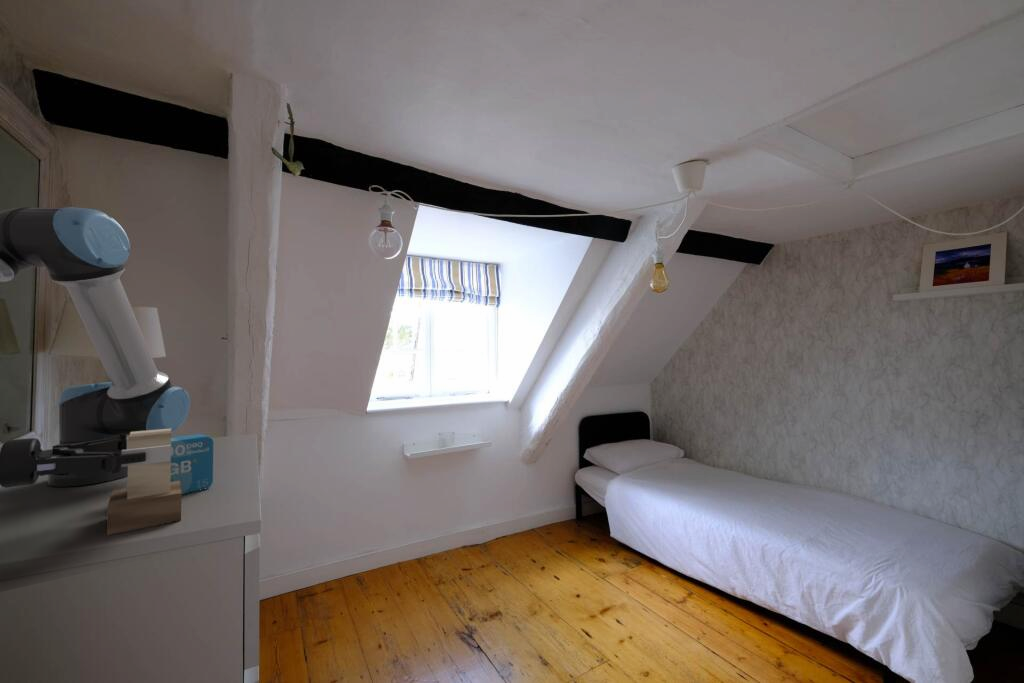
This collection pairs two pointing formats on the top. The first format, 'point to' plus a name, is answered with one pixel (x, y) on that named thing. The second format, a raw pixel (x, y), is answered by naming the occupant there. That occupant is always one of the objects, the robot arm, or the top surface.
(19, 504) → the top surface
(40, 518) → the top surface
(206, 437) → the data package
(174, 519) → the block
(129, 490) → the birch block
